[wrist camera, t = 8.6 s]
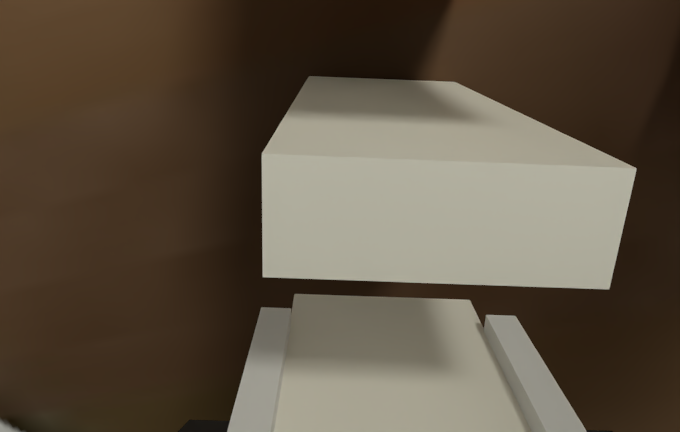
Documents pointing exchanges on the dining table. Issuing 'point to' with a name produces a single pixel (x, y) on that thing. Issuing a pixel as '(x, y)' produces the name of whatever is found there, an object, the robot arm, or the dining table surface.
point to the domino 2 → (392, 368)
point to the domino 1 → (435, 191)
